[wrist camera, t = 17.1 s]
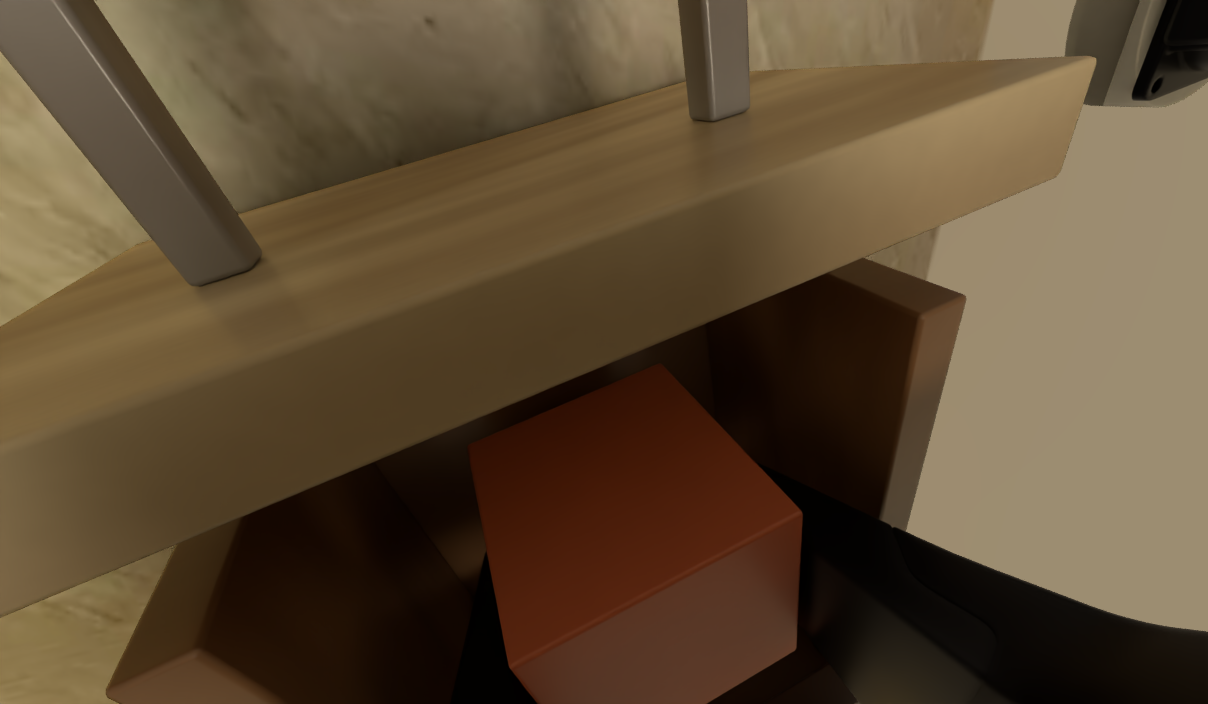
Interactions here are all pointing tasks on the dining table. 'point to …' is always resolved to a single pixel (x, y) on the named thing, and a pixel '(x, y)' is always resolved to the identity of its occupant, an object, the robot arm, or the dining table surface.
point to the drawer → (472, 340)
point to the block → (635, 549)
